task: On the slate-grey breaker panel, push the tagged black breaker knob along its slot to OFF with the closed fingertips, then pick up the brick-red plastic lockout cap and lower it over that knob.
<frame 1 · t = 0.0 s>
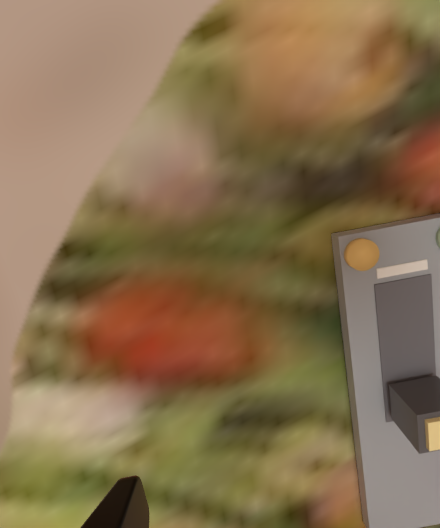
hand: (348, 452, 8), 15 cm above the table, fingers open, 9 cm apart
breaker A knob: (429, 414, 21), point 3 cm above the table, slide at 0.0 cm
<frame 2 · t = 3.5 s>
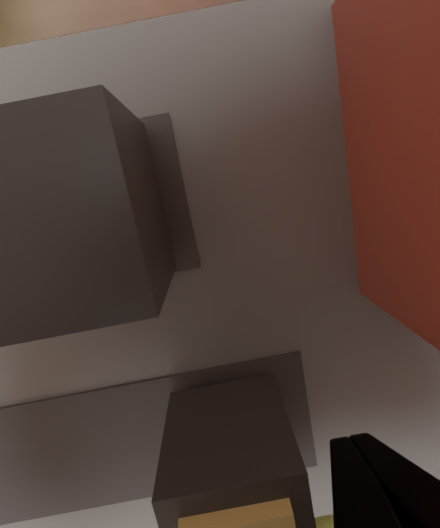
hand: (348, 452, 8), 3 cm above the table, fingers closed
breaker A knob: (238, 491, 7), point 3 cm above the table, slide at 0.3 cm, touching gripper
breaker panel: (219, 299, 10), on the table
breaker B knob: (77, 216, 6), point 3 cm above the table, slide at 0.0 cm
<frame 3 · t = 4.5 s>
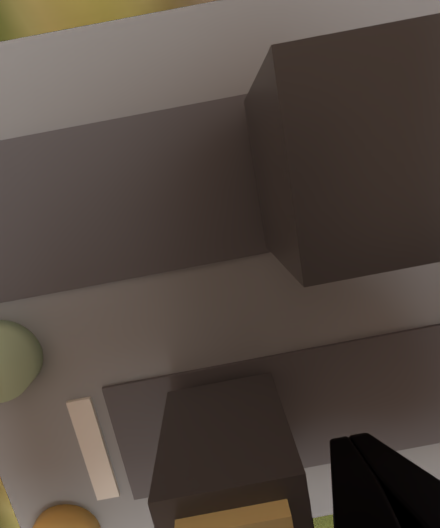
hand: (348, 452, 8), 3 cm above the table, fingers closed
breaker A knob: (235, 492, 7), point 3 cm above the table, slide at 4.9 cm, touching gripper
breaker panel: (381, 267, 10), on the table
breaker B knob: (341, 163, 6), point 3 cm above the table, slide at 0.0 cm
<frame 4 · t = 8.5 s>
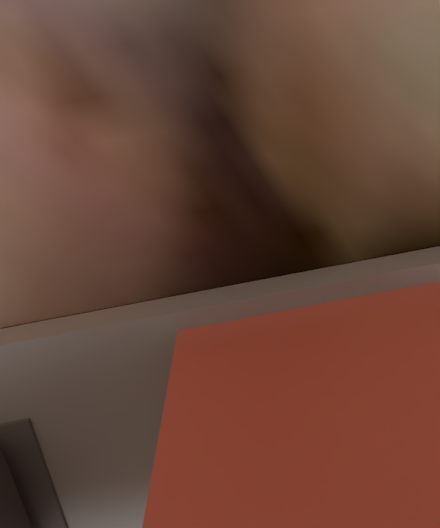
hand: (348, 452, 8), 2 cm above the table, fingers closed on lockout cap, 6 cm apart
lockout cap: (334, 426, 8), point 1 cm above the table, touching breaker panel, gripper
when the fingers open (3 cm above the table, at t = 12.0 s): lockout cap stays where it is, resting on breaker panel.
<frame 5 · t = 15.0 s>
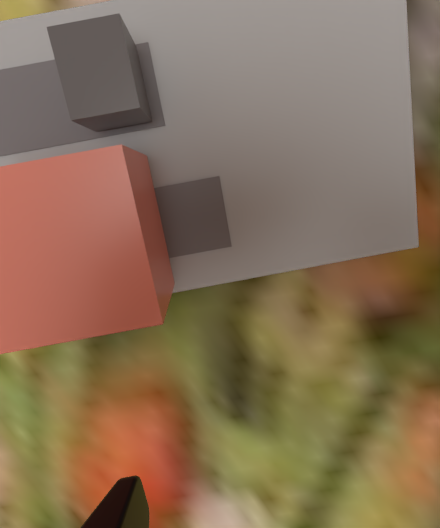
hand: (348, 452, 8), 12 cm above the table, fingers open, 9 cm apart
lockout cap: (97, 234, 17), point 1 cm above the table, touching breaker panel
breaker panel: (178, 156, 18), on the table
breaker B knob: (106, 80, 14), point 3 cm above the table, slide at 0.0 cm
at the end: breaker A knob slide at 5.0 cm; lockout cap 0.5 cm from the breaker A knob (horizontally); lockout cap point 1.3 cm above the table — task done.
